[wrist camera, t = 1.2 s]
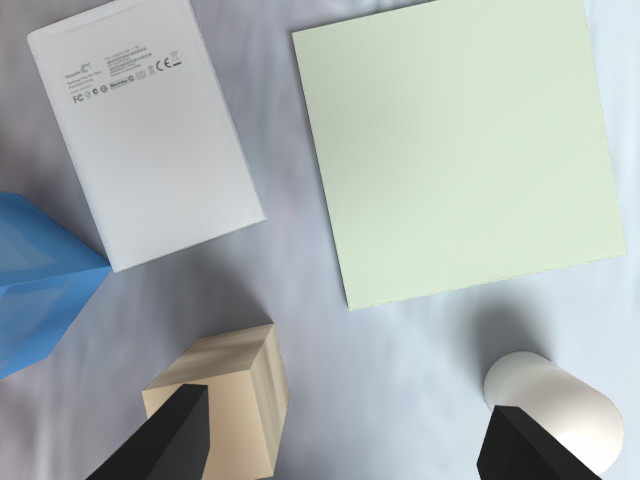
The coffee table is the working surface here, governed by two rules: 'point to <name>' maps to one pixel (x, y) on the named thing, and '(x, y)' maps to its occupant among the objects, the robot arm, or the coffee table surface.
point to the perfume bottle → (39, 282)
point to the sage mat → (459, 145)
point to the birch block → (233, 399)
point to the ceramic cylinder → (558, 406)
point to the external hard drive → (146, 128)
